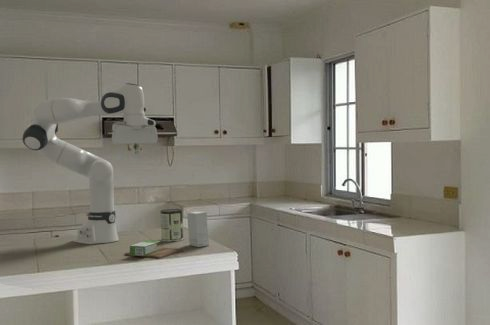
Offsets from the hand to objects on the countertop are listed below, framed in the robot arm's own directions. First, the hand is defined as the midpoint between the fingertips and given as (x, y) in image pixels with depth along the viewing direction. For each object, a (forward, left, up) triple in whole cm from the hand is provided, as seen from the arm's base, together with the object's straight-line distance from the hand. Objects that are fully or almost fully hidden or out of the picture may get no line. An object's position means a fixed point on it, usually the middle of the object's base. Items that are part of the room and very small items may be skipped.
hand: (135, 154), depth 225 cm
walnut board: (+10, -2, -41) cm, 42 cm away
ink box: (+10, -13, -38) cm, 41 cm away
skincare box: (+18, +18, -41) cm, 49 cm away
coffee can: (-2, +26, -41) cm, 49 cm away
